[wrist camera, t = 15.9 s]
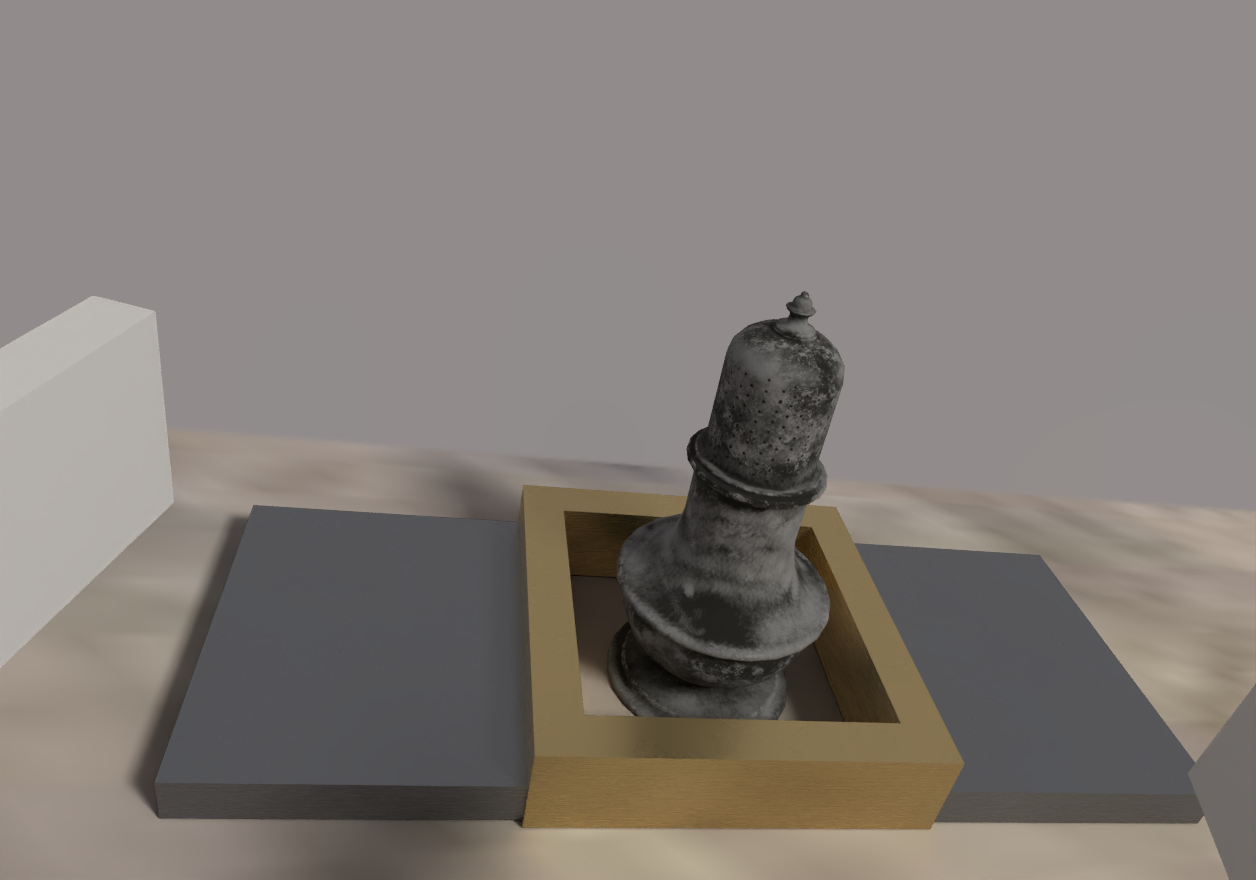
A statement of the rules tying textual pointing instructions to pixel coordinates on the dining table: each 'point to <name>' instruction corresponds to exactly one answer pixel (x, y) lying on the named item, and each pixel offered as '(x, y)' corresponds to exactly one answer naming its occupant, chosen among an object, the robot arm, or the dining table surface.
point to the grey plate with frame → (644, 746)
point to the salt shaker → (735, 539)
